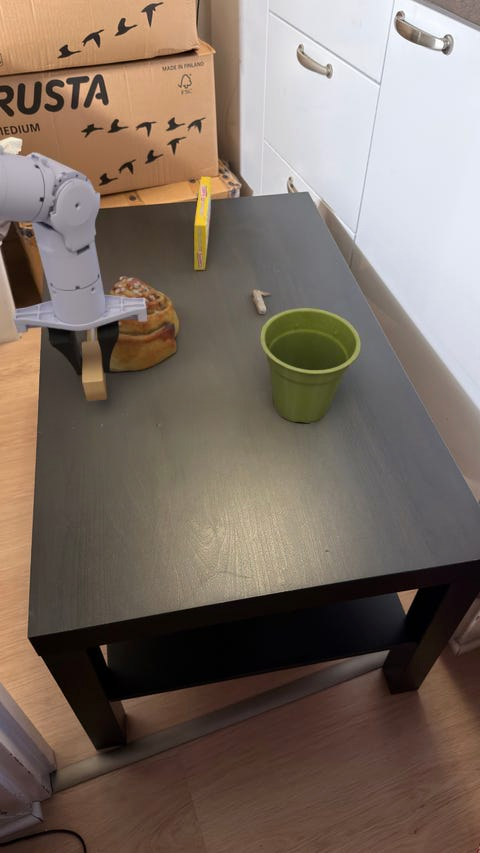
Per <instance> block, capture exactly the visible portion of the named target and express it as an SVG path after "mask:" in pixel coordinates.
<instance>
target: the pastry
mask: <svg viewBox="0 0 480 853" xmlns="http://www.w3.org/2000/svg"><path fill="white" fill-rule="evenodd" d="M108 295H111V296H119V297H127V298H145V303H146V312H147V321H144V322H139V321H138V319H128V320H119V337H118V341H117V342H116V344H115V346H114V349H113V351H112V355H111V359H110V372H116V373H121V372H127V371H131V372H132V371H133V372H134V371H143V370H145V369H149V368H152V367H154V366H156V365H157V364H159V363H161V362H163V361H165V360H166V359H168V358H169V357H171V356H172V355H174V354H175V353H176V352H177V342H176V339H175V338H176V337H177V336H178V334H179V332H180V325H181V324H180V319H179V317H178V315H177V312H176V310H175V308H174V304H173V301H172V300H171V299H170V298H169V297H168V296H167V295H165V294H164V293H162V292H161V291H159V290H156V289H155V288H153V287H152V286H150V285H148V284H147V283H145V282H143V281H142V280H140V279H139V278H136V277H128V276H120V277H119V280H118V282H115V283H114V285H113V286H112V288H111V289H110V291H109V293H108ZM90 341H92V340H91V329H88V330H86V342H90ZM96 341H98V339H97V327H96Z"/></svg>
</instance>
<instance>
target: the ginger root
mask: <svg viewBox="0 0 480 853" xmlns="http://www.w3.org/2000/svg"><path fill="white" fill-rule="evenodd" d="M251 293H252V295H253V297H252V299H251V300H252V301H253V302H254V304H255V306H256V309H257V311H258V313H259V314H260V315H266V313H267V307H266V304H265V301H264V298H263V296H265V297H268V296H271V293H268V292H264V291H262V290H259V289H253V290H252V292H251Z"/></svg>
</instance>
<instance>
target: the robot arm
mask: <svg viewBox="0 0 480 853" xmlns="http://www.w3.org/2000/svg"><path fill="white" fill-rule="evenodd" d="M4 150H5V148H4V146H2V145H1V144H0V221H7V222H8V221H9V222H17V223H26V224H31V225H32V226H31V227H32V230H33V234H34V237H35V242H36V246H37V249H38V253H39V256H40V261H41V264H42V268H43V273H44V276H45V280H46V283H47V288H48V292H49V296H50V300H48V301H45V302H41V303H38V304H34V305H30V306H27V307H21V308H15V309H14V313H13V322H14V325H15V328H16V332H17V333H18V334H24V333H27V332H28V331H29V329H39V328H47V332H48V342H49V343H50V345H51V347H52V348H54V349H56V350H57V351H58V352H59V353H60V354H62V356H63V357H65V359H66V360H67V361H68V362H69V364H70V365H71V367H72V368H73V370H74V372H75V374H76V375H77V376H79V377H80V376H81V377H82V352H81V350H80V347H79V343H78V341H77V340H78V339H77V336H76V332H82V331H83V332H84V331H87V330H88V329H92V328H95V327H97V339H98V343H99V346H100V349H101V354H102V360H103V370H104V373H106V374H109V373H111V371H110V359H111V355H112V351H113V349H114V346H115V344H116V342H117V341H118V337H119V320H128V319H138V321H139V322H144V321H147V312H146V303H145V298H127V297H119V296H111V295H109V294H105V291H104V286H103V280H102V274H101V270H100V263H99V258H98V252H97V247H96V241H95V240H96V238H95V236H96V235H97V231H96V230H97V229H96V219H97V216H98V214H99V211H100V207H101V194H100V192H98V191H96V190H95V189H94V185H93V183H92V182H91V180H90V179H88V176H87V175H85V174H84V173H82V172H80V171H78V170H75V169H73V168H72V167H70V166H67V165H65V164H64V163H61V162H58V161H57V160H54V159H52V158H50V157H48V156H45V155H43V154H41V153H39V152H31V153H29V154H27V155H26V156H25V155H21V154H15V153H11V152H7V151H4Z"/></svg>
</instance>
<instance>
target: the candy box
mask: <svg viewBox="0 0 480 853" xmlns="http://www.w3.org/2000/svg"><path fill="white" fill-rule="evenodd" d="M211 214H212V178H211V176H200V182H199V187H198V195H197V203H196V211H195V217H194V225H193V228H194V231H193V232H194V234H193V235H194V236H193V237H194V238H193V239H194V242H193V244H194V247H193V248H194V250H193V252H194V253H193V254H194V256H193V257H194V263H193V264H194V268H193V269H194V271H206V262H207V254H208V244H209V235H210V224H211V216H212V215H211Z"/></svg>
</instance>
